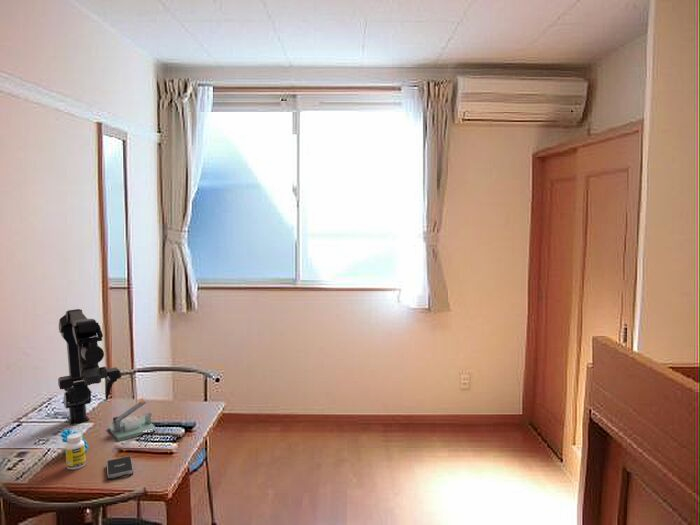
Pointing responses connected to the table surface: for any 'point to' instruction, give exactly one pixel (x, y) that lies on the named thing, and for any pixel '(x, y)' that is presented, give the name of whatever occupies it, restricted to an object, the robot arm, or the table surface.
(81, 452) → the supplement bottle
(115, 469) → the external hard drive
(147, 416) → the post
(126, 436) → the board
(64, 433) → the gear
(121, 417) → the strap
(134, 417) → the heatsink
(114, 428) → the post
